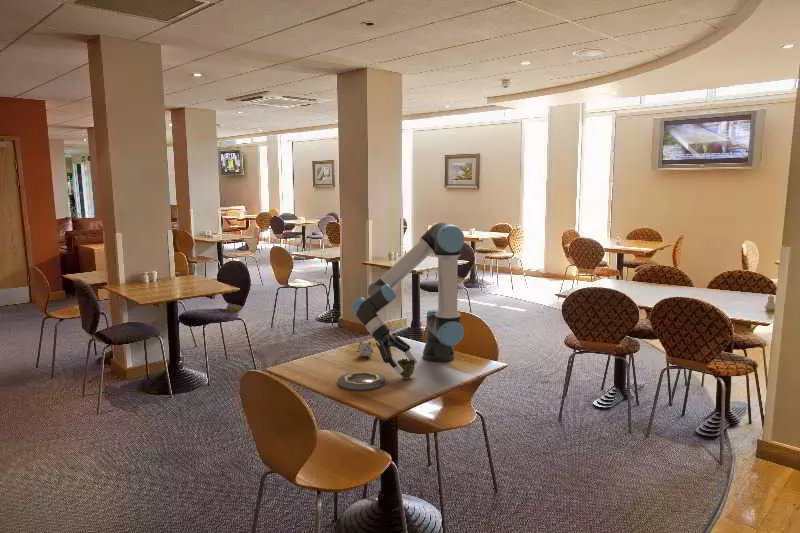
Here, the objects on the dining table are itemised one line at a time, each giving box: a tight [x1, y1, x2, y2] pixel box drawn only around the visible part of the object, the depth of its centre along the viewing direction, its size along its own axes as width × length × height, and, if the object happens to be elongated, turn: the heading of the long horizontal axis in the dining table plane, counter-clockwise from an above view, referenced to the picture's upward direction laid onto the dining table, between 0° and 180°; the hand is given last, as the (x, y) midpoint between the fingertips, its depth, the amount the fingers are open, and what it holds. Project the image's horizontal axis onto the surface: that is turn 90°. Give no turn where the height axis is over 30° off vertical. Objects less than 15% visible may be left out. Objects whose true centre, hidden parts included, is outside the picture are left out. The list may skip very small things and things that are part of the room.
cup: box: [397, 358, 416, 381], centre depth 249 cm, size 8×7×8 cm
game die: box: [356, 338, 376, 359], centre depth 280 cm, size 9×8×10 cm
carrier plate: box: [337, 371, 387, 392], centre depth 245 cm, size 20×20×2 cm
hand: (408, 368), depth 248 cm, fingers open, 13 cm apart
